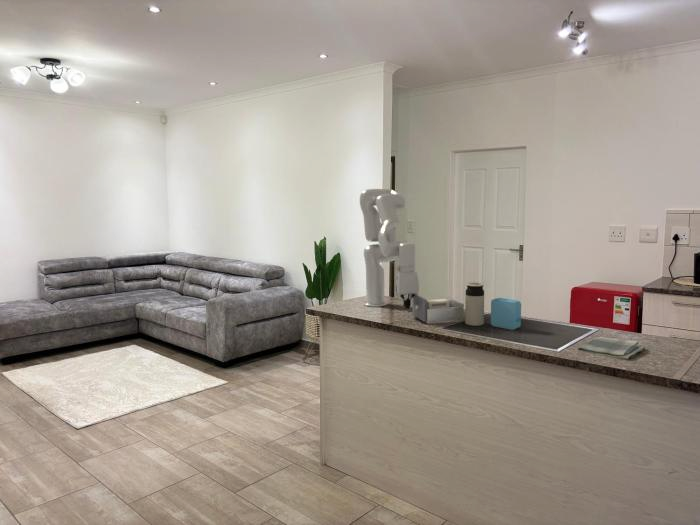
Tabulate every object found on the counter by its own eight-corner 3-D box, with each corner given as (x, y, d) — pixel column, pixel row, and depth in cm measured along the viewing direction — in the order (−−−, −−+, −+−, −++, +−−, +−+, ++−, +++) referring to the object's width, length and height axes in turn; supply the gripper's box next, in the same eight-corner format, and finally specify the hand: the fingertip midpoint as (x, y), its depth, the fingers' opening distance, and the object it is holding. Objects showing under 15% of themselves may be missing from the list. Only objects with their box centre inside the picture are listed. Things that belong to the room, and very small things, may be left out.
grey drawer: (410, 314, 252) (410, 293, 250) (446, 312, 256) (446, 291, 255) (422, 322, 237) (422, 299, 236) (459, 319, 241) (460, 297, 240)
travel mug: (471, 326, 231) (471, 285, 229) (461, 322, 239) (462, 283, 236) (487, 325, 234) (488, 284, 231) (477, 321, 241) (477, 281, 239)
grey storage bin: (414, 316, 253) (414, 299, 252) (448, 313, 257) (448, 297, 256) (427, 324, 237) (427, 306, 236) (463, 321, 241) (463, 303, 240)
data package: (520, 328, 227) (521, 300, 225) (515, 330, 224) (516, 302, 222) (495, 323, 236) (496, 297, 234) (490, 325, 233) (490, 298, 231)
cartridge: (424, 312, 248) (424, 300, 247) (445, 311, 250) (445, 298, 249) (428, 315, 243) (428, 302, 242) (449, 313, 245) (449, 301, 244)
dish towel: (575, 351, 196) (576, 343, 195) (595, 341, 208) (596, 333, 207) (630, 362, 182) (630, 353, 182) (647, 351, 195) (648, 342, 194)
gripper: (393, 271, 242) (394, 311, 244) (425, 269, 245) (425, 308, 247) (389, 268, 249) (389, 307, 251) (419, 267, 252) (419, 305, 255)
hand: (407, 308), depth 249 cm, fingers closed
